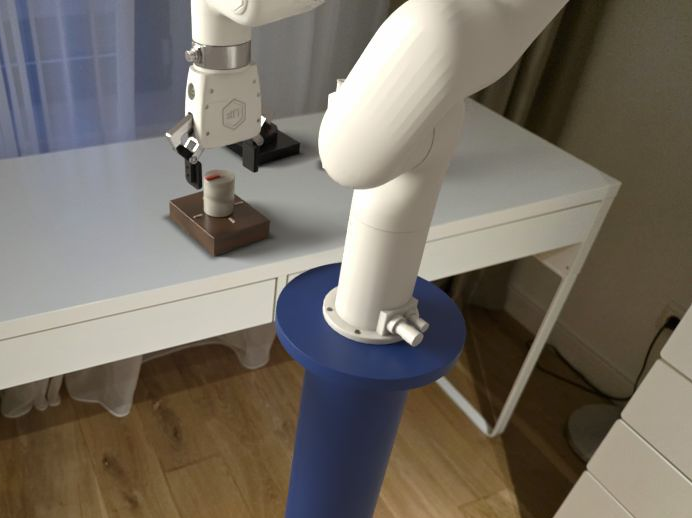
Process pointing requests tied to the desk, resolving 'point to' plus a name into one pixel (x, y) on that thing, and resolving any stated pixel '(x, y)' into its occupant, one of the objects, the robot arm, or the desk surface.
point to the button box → (272, 146)
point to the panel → (219, 223)
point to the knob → (219, 193)
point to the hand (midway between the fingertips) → (223, 177)
